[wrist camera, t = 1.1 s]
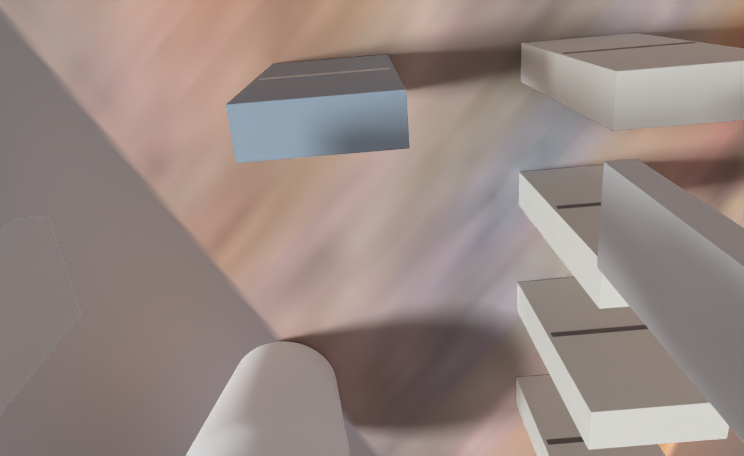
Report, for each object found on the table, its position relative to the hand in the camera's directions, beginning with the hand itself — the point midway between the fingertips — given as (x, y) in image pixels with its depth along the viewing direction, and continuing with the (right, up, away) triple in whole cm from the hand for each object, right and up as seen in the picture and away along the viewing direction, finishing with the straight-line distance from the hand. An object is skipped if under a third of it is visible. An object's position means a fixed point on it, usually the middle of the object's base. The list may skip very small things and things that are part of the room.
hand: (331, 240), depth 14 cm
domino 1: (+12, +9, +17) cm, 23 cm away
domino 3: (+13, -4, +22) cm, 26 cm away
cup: (-5, -10, +24) cm, 26 cm away
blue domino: (-1, +8, +17) cm, 19 cm away
